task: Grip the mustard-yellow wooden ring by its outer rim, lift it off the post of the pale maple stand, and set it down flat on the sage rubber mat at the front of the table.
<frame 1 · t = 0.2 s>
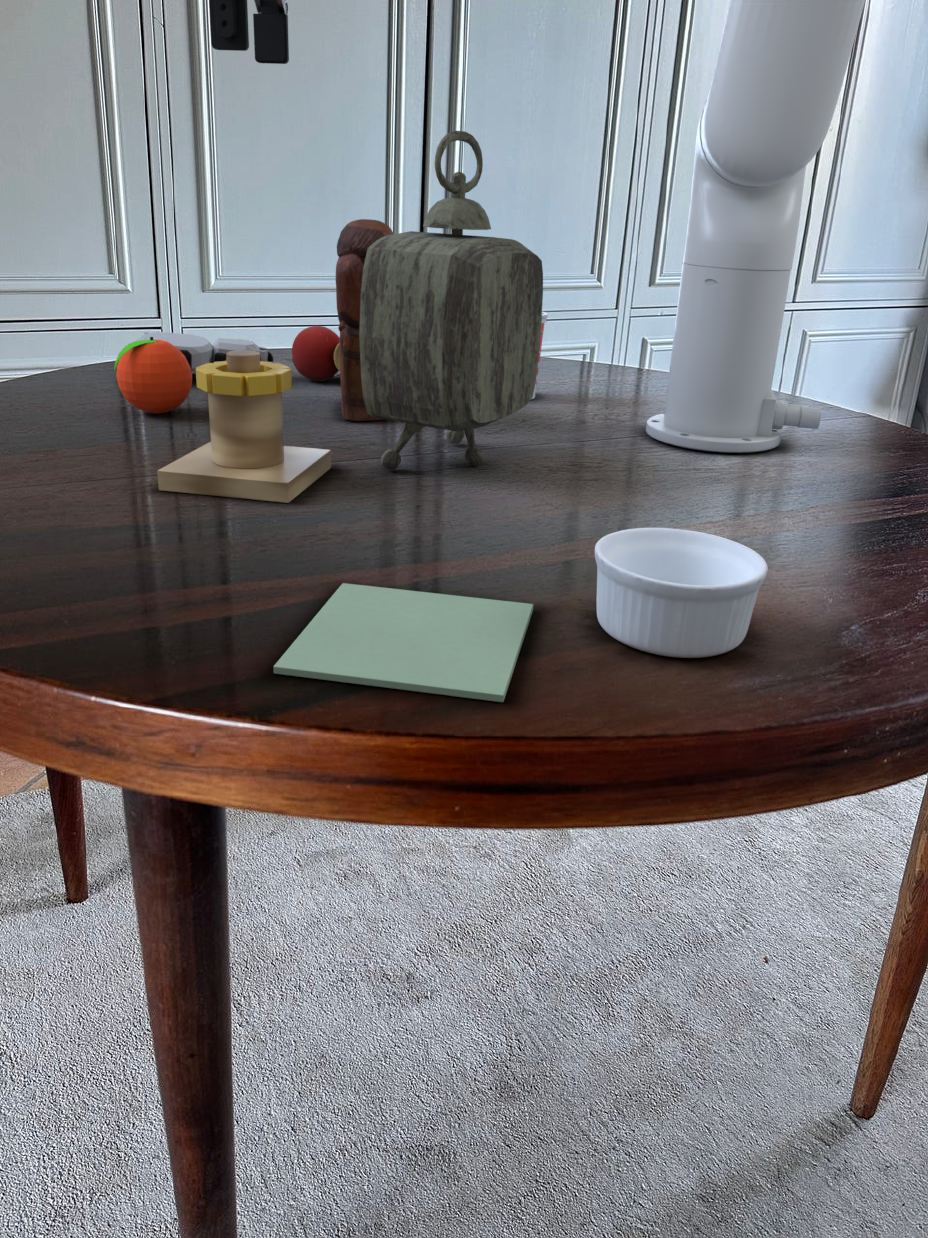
hand: (252, 56, 89), 31 cm above the table, tool pointing down, fingers open, 9 cm apart
stand: (249, 478, 76), on the table
wooden figurine: (369, 412, 100), on the table
mat: (413, 639, 51), on the table
ramekin: (669, 632, 53), on the table
clementine: (153, 415, 95), on the table
robot toy: (207, 379, 113), on the table
tabletop clock: (452, 464, 83), on the table
ring: (244, 387, 73), point 7 cm above the table, touching stand
kendama: (371, 383, 115), on the table
beverage cup: (514, 397, 110), on the table
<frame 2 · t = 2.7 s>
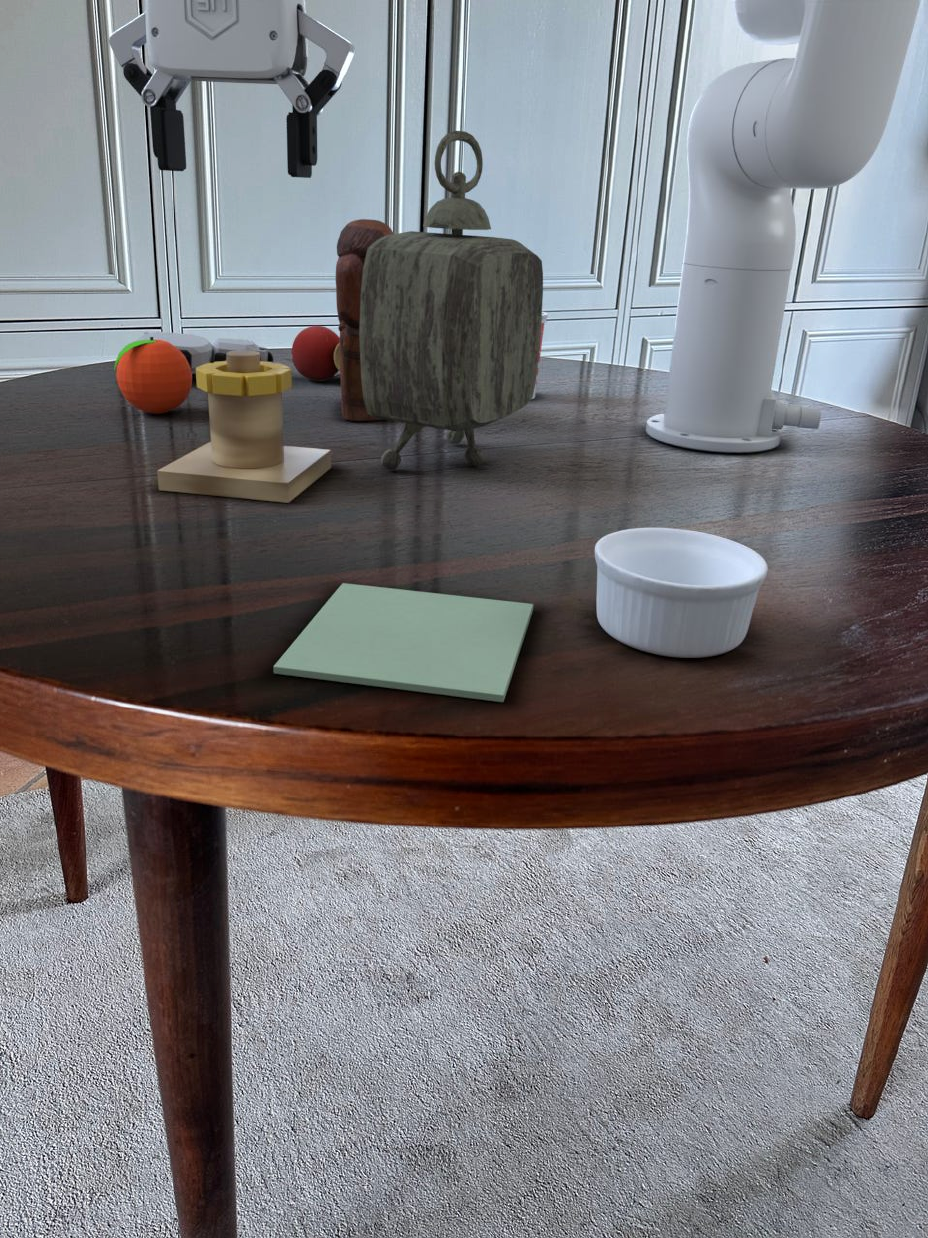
hand: (235, 173, 71), 21 cm above the table, tool pointing down, fingers open, 9 cm apart
nothing on the table moved.
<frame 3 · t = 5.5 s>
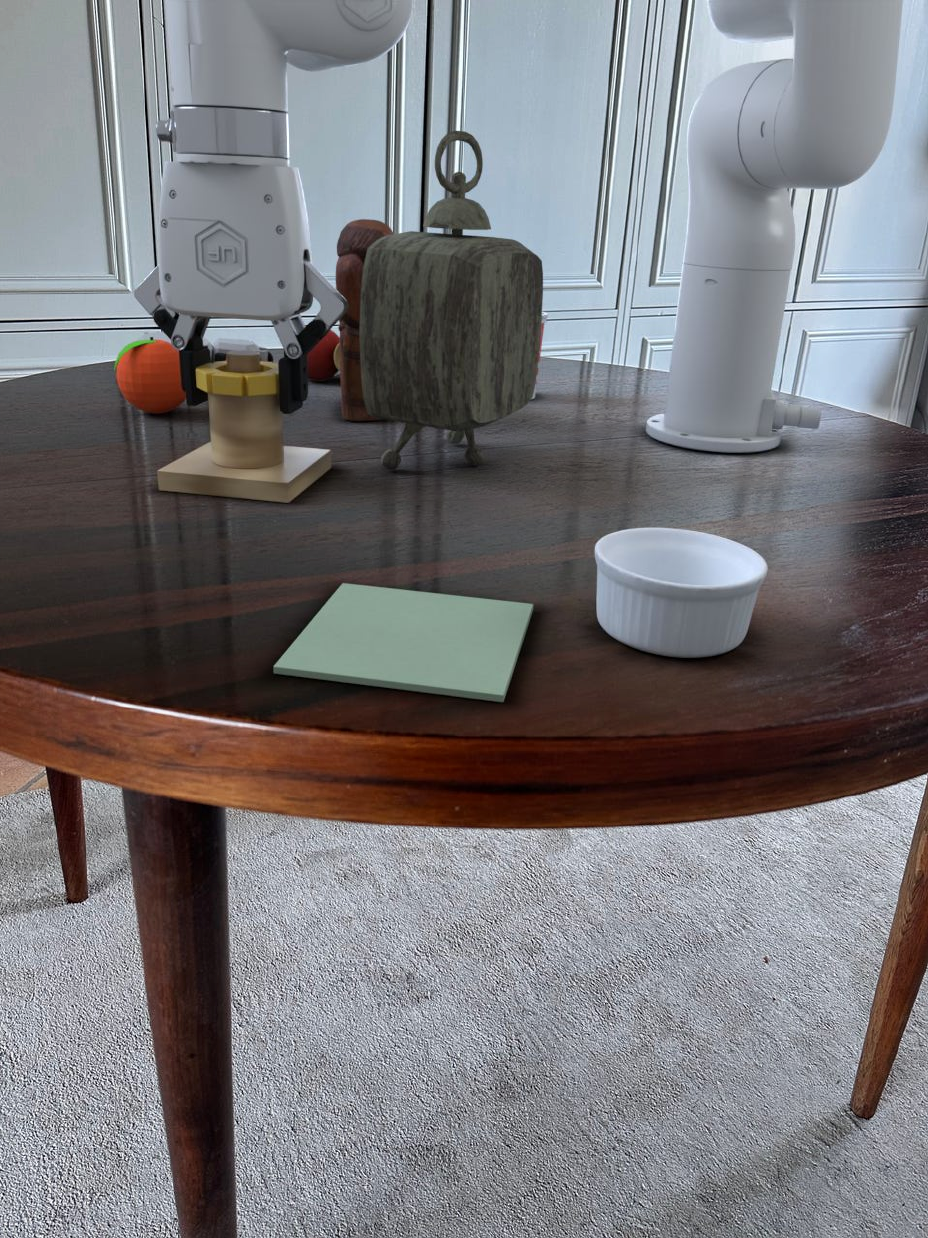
hand: (245, 404, 74), 6 cm above the table, tool pointing down, fingers closed on ring, 6 cm apart
ring: (244, 387, 73), point 7 cm above the table, touching gripper, stand
everything else where it was.
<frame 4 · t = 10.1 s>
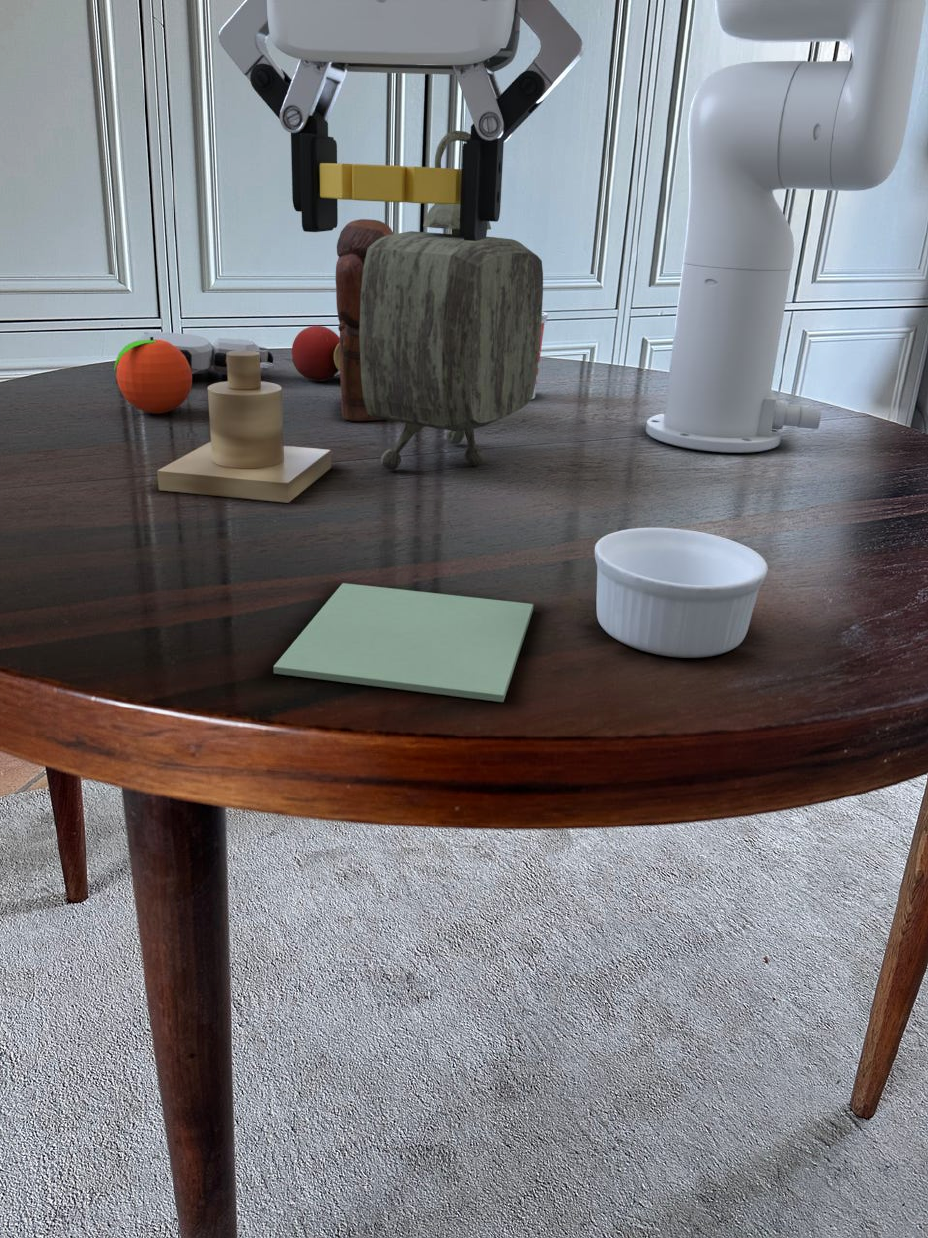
hand: (396, 231, 45), 19 cm above the table, tool pointing down, fingers closed on ring, 6 cm apart
ring: (396, 200, 45), point 21 cm above the table, touching gripper
everything else where it was.
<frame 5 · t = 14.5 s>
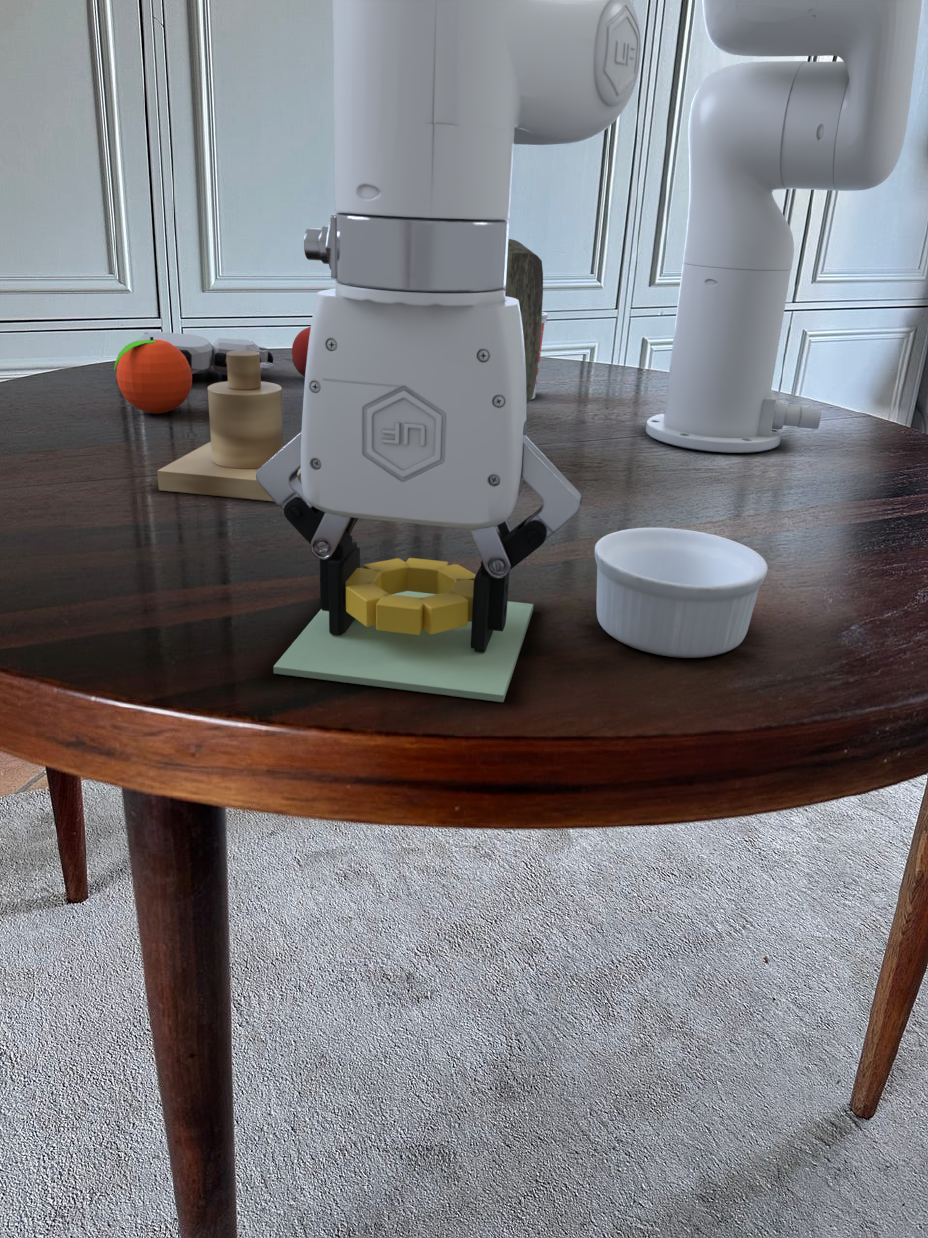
hand: (413, 629, 51), 1 cm above the table, tool pointing down, fingers closed on ring, 6 cm apart
ring: (413, 607, 50), point 2 cm above the table, touching gripper
everything else where it was.
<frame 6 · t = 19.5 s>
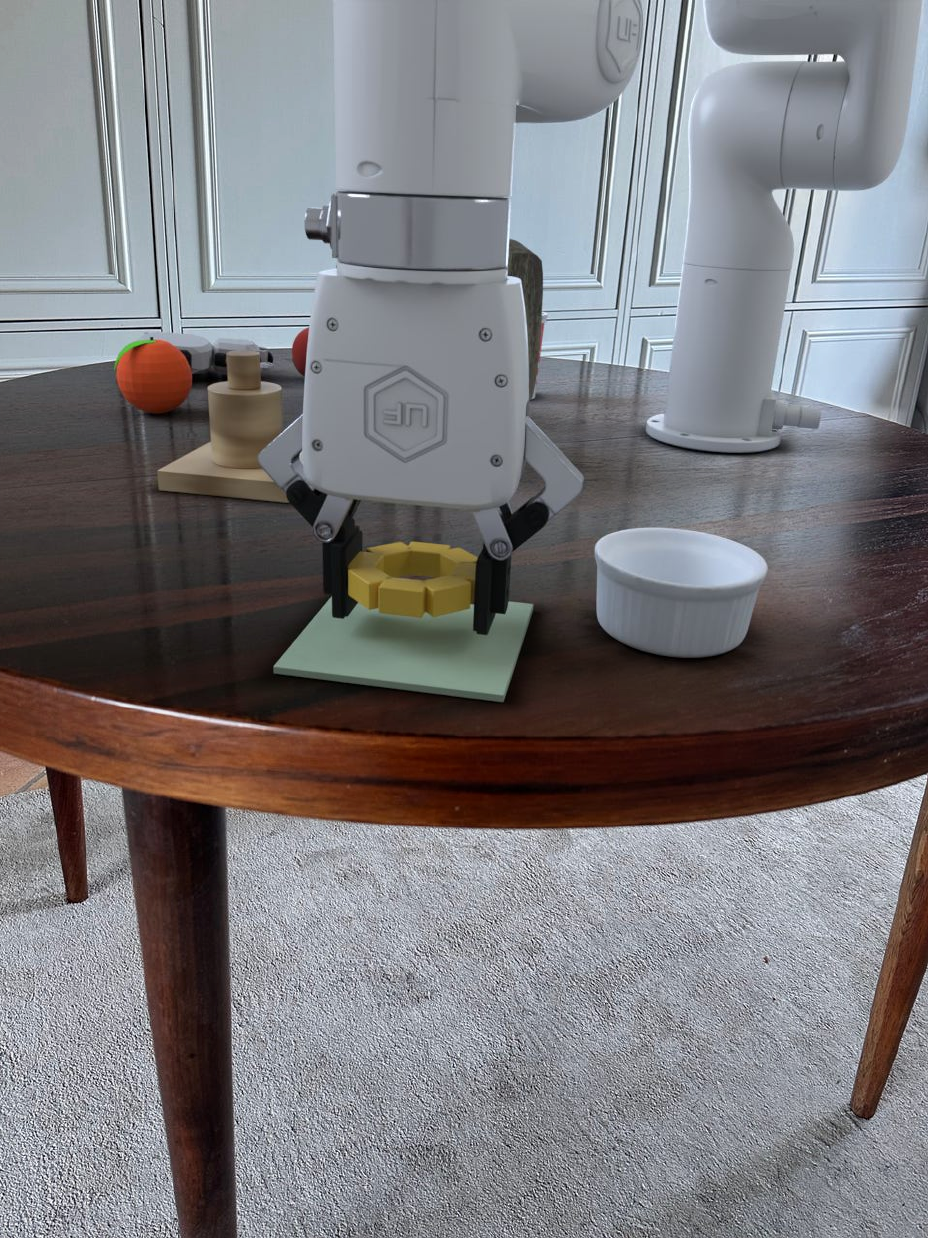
hand: (415, 613, 50), 1 cm above the table, tool pointing down, fingers closed on ring, 6 cm apart
ring: (416, 590, 50), point 3 cm above the table, touching gripper
everything else where it was.
when the fingers open (1 cm above the table, at t = 24.1 s): ring drops 2 cm, resting on mat.
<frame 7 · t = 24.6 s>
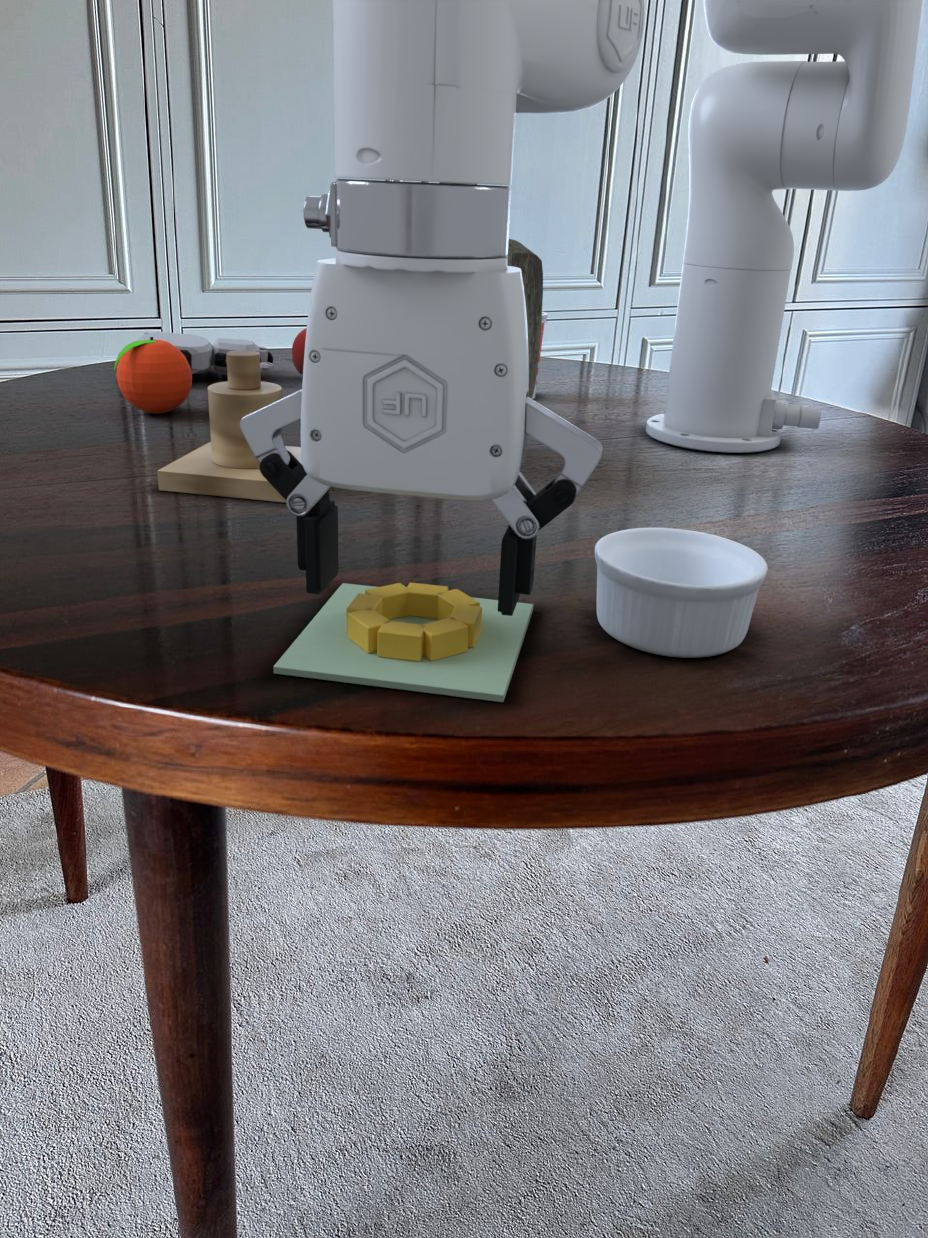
hand: (414, 594, 50), 3 cm above the table, tool pointing down, fingers open, 9 cm apart
ring: (414, 632, 51), resting on mat
everything else where it was.
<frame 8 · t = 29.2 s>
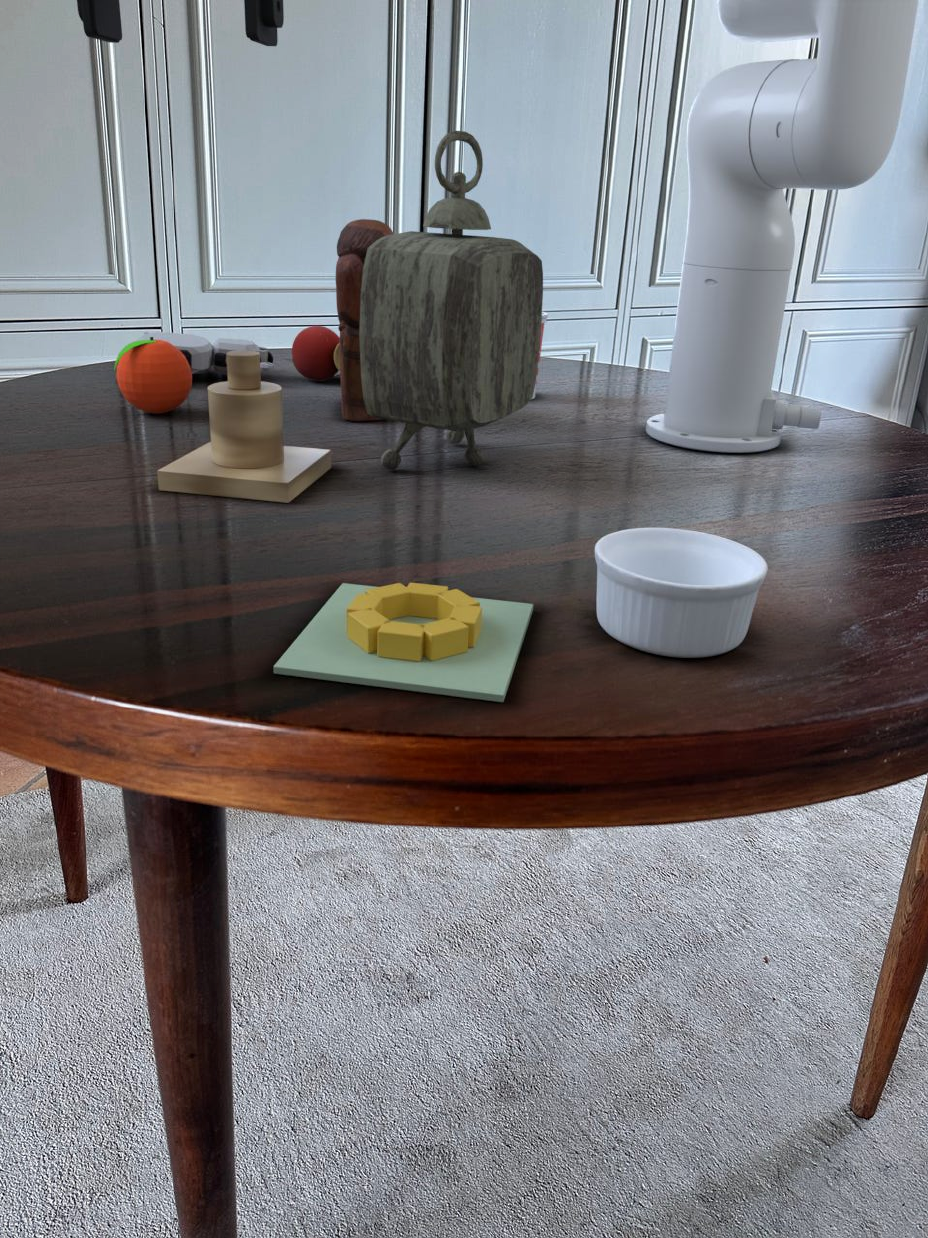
hand: (182, 41, 57), 28 cm above the table, tool pointing down, fingers open, 9 cm apart
nothing on the table moved.
at the end: ring inside the target area on the mat (0.0 cm from its centre), point 0.4 cm above the mat's base; ring tilted 0°; ring touching mat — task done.
